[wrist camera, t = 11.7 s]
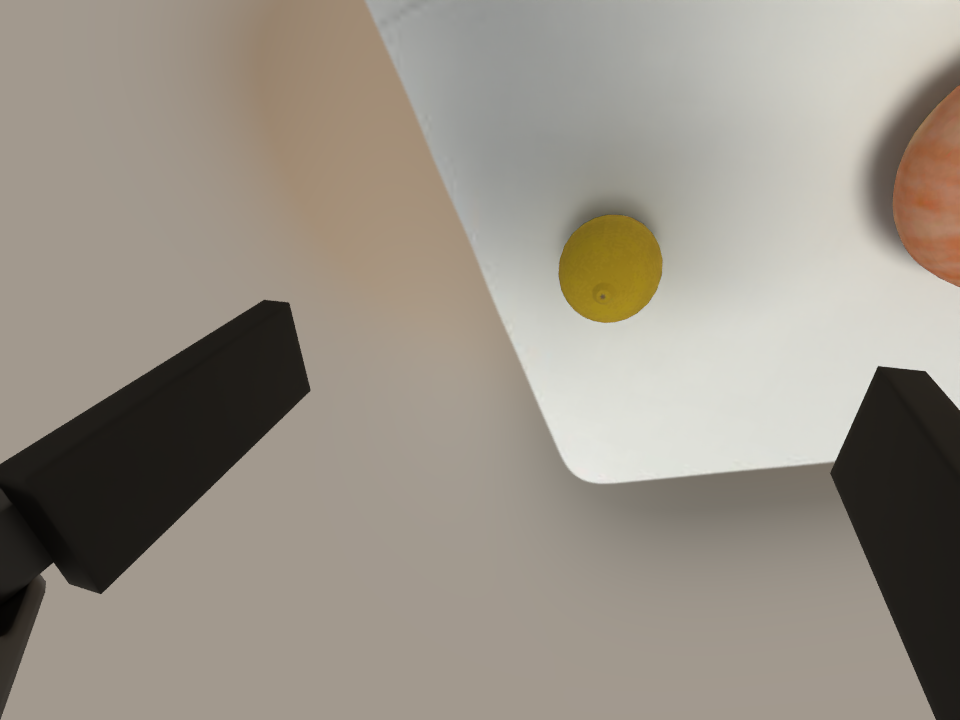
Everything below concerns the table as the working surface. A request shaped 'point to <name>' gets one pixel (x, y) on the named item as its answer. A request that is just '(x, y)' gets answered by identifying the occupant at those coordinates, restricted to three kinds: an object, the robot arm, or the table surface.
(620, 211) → the table surface
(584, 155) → the table surface
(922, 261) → the orange pumpkin
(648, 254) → the lemon
